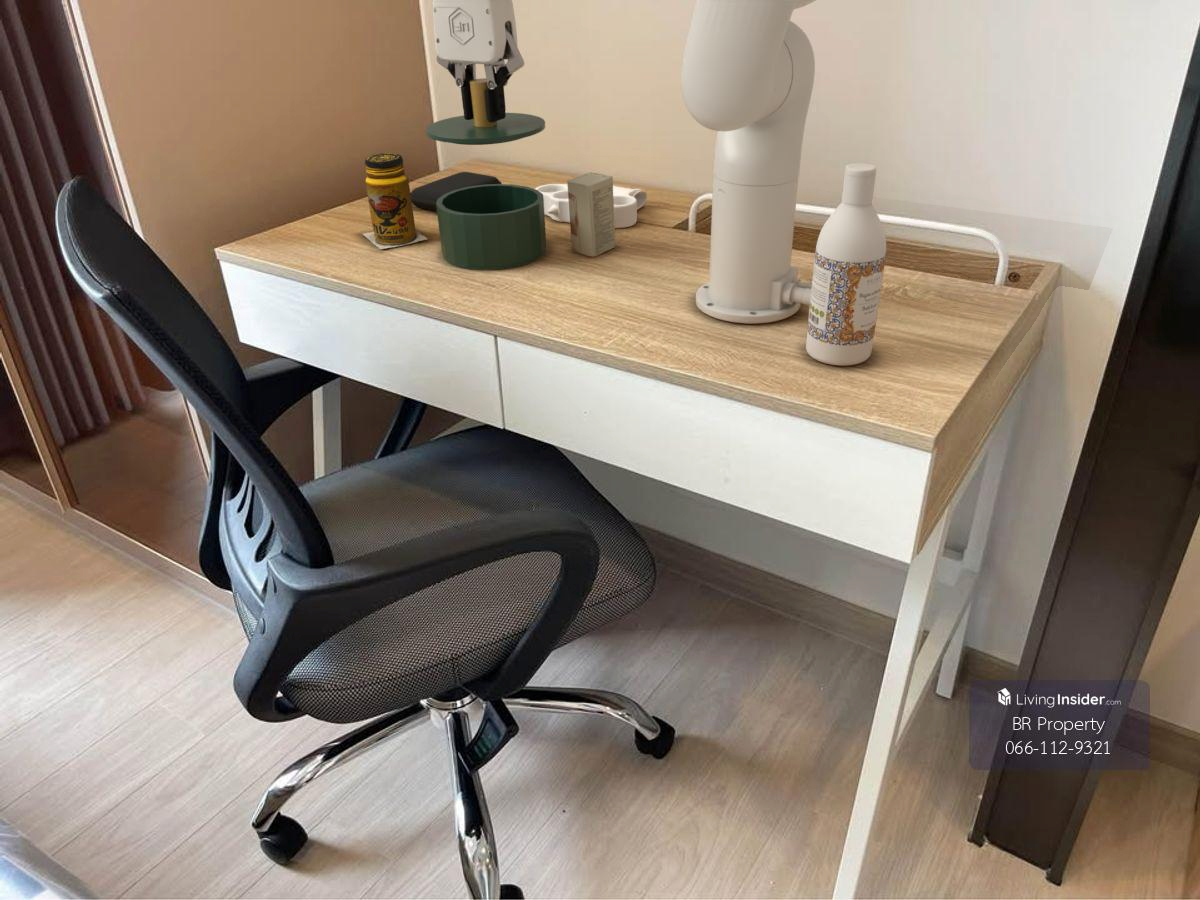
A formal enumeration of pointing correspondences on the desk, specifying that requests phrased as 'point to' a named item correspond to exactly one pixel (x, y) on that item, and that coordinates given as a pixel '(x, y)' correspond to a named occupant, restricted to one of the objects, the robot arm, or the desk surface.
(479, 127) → the tin lid
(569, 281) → the desk surface
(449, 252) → the tin
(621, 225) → the knuckle duster
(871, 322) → the bath foam
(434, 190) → the carrying case
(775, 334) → the desk surface
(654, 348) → the desk surface
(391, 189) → the condiment
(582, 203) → the white cardboard carton
